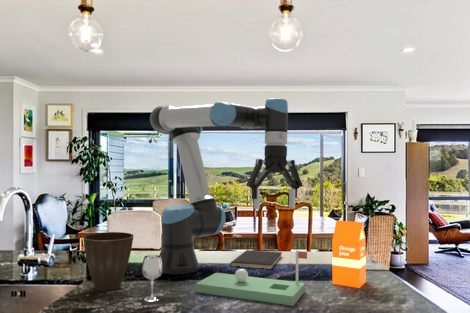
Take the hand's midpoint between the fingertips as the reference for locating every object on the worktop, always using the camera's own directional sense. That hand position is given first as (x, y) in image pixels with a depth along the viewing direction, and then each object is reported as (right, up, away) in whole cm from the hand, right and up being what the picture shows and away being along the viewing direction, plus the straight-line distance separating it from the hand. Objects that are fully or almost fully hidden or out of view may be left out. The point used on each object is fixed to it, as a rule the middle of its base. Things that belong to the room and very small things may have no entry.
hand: (274, 208), depth 136 cm
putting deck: (-9, -23, -13) cm, 28 cm away
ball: (-11, -19, -12) cm, 25 cm away
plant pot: (-53, -24, -10) cm, 58 cm away
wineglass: (-37, -23, -21) cm, 48 cm away
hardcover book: (-4, -25, +27) cm, 37 cm away
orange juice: (+24, -24, -3) cm, 34 cm away
